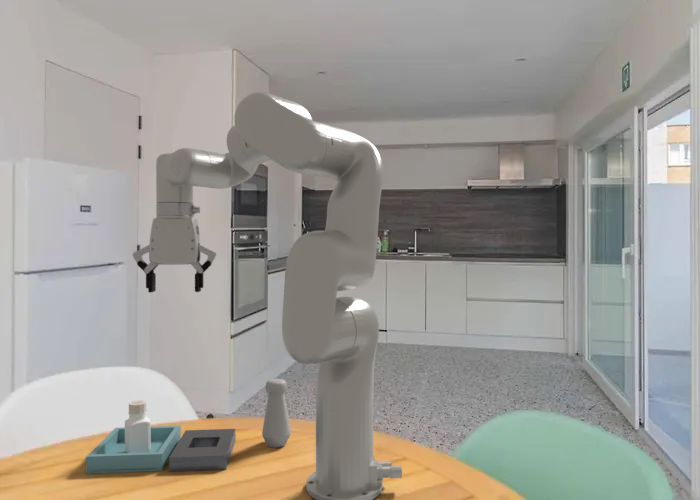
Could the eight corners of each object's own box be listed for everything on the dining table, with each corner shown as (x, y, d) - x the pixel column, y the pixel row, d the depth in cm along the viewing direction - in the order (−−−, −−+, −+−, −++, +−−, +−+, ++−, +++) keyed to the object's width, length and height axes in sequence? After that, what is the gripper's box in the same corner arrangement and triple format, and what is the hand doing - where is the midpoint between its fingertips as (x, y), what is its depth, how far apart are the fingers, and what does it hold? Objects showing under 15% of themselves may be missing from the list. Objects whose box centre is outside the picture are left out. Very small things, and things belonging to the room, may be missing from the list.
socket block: (235, 440, 109) (235, 428, 109) (226, 469, 95) (226, 455, 95) (185, 442, 108) (185, 430, 108) (169, 471, 94) (169, 457, 94)
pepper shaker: (129, 457, 99) (129, 406, 99) (124, 451, 102) (123, 401, 102) (151, 452, 101) (151, 403, 101) (145, 446, 104) (145, 398, 104)
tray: (180, 440, 110) (180, 425, 110) (162, 470, 95) (162, 454, 95) (115, 442, 108) (115, 427, 108) (86, 473, 93) (86, 456, 93)
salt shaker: (293, 439, 110) (293, 376, 110) (287, 449, 104) (287, 384, 104) (266, 438, 111) (266, 376, 111) (258, 448, 105) (258, 383, 105)
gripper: (218, 213, 119) (218, 290, 119) (138, 213, 117) (138, 290, 117) (213, 211, 111) (213, 293, 111) (127, 210, 109) (127, 293, 110)
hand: (175, 291), depth 114 cm, fingers open, 9 cm apart
